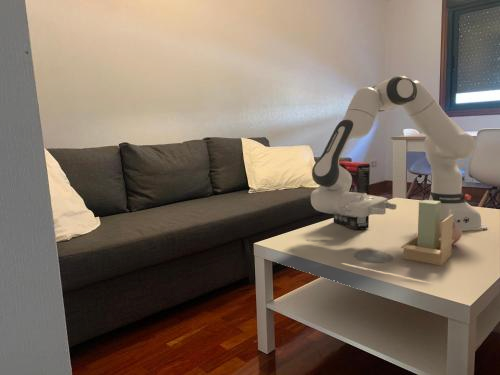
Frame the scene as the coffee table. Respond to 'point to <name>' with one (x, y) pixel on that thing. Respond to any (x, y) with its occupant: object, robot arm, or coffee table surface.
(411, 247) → the wooden open tray
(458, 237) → the decorative fruit
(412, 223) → the coffee table surface
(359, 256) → the slate mat
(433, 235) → the tall box
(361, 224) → the graphics card box
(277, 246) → the coffee table surface
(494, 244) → the coffee table surface
